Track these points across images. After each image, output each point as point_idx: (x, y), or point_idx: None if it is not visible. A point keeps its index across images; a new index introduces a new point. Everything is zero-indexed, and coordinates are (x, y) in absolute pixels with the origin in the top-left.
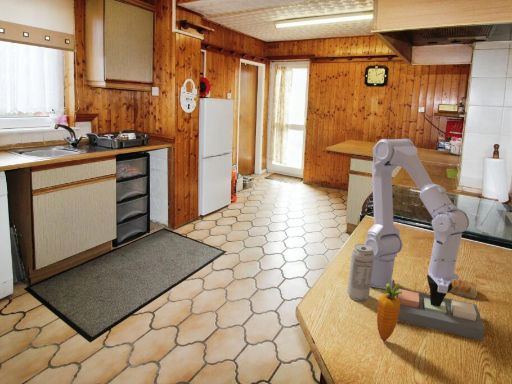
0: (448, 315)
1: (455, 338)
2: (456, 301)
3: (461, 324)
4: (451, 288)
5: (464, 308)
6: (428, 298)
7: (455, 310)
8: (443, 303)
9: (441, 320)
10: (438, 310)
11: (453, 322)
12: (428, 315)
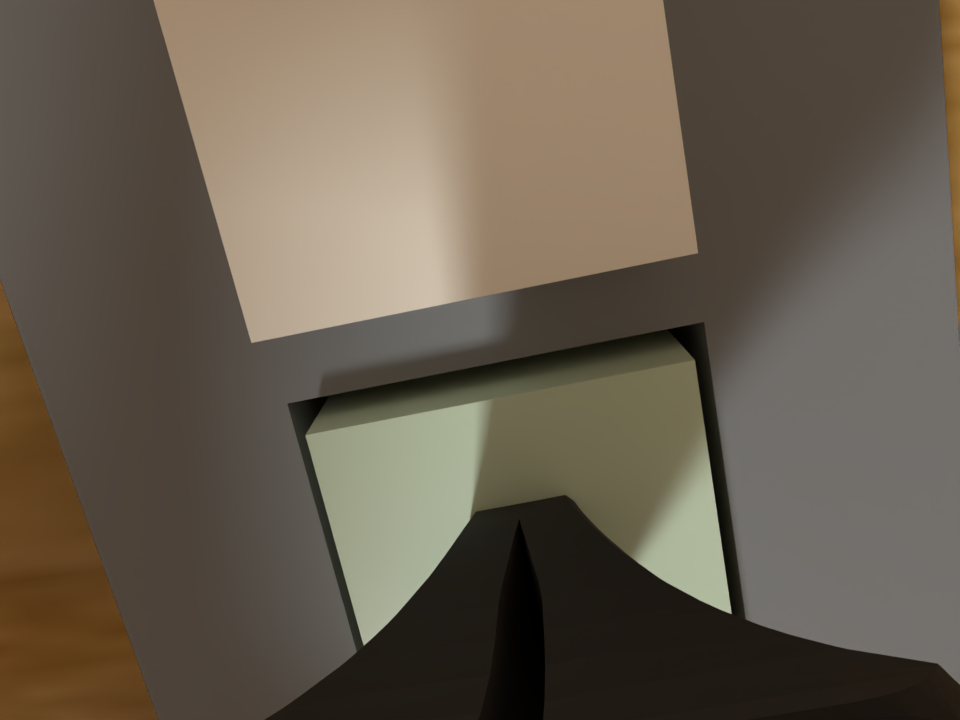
0: (719, 305)
1: (953, 112)
2: (256, 241)
3: (935, 51)
4: (954, 695)
5: (479, 41)
6: (302, 674)
7: (691, 219)
8: (381, 447)
9: (954, 390)
10: (707, 490)
11: (945, 197)
12: (922, 595)
